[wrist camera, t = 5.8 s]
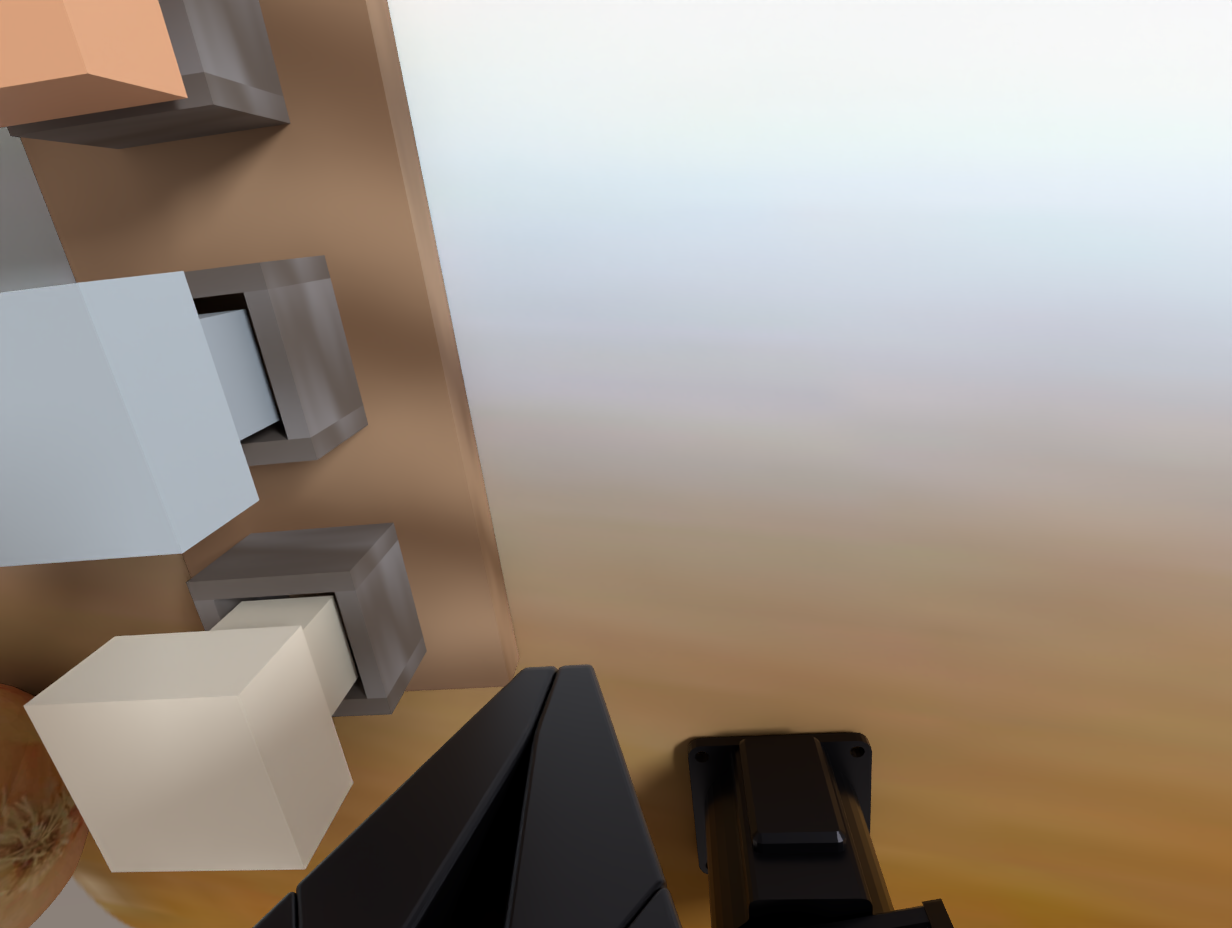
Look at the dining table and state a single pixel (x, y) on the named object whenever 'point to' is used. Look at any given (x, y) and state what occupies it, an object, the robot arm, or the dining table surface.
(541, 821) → the robot arm
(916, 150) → the dining table surface
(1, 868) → the onion
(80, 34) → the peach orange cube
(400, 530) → the walnut button board
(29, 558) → the slate button
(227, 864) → the cream button
